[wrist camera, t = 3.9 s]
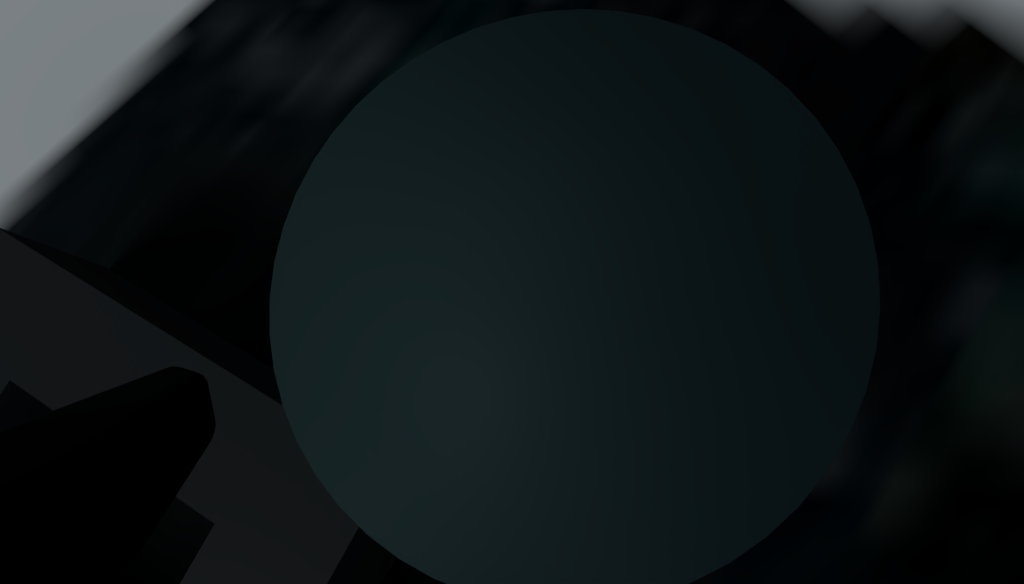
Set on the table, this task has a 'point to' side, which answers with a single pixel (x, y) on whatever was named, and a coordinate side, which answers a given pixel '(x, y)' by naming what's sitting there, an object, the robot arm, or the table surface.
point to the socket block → (236, 403)
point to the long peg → (574, 304)
